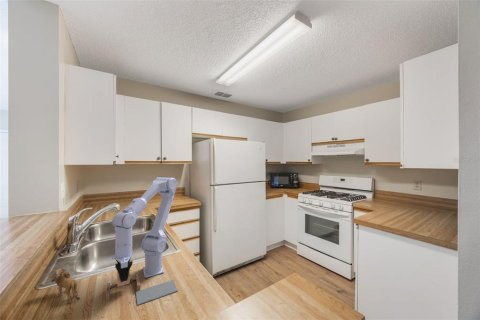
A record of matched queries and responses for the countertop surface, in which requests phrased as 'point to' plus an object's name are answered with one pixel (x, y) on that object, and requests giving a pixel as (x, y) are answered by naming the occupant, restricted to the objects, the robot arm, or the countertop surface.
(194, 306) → the countertop surface
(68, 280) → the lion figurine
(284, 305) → the countertop surface
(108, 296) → the walnut cradle
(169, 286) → the slate mat
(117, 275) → the terracotta block
